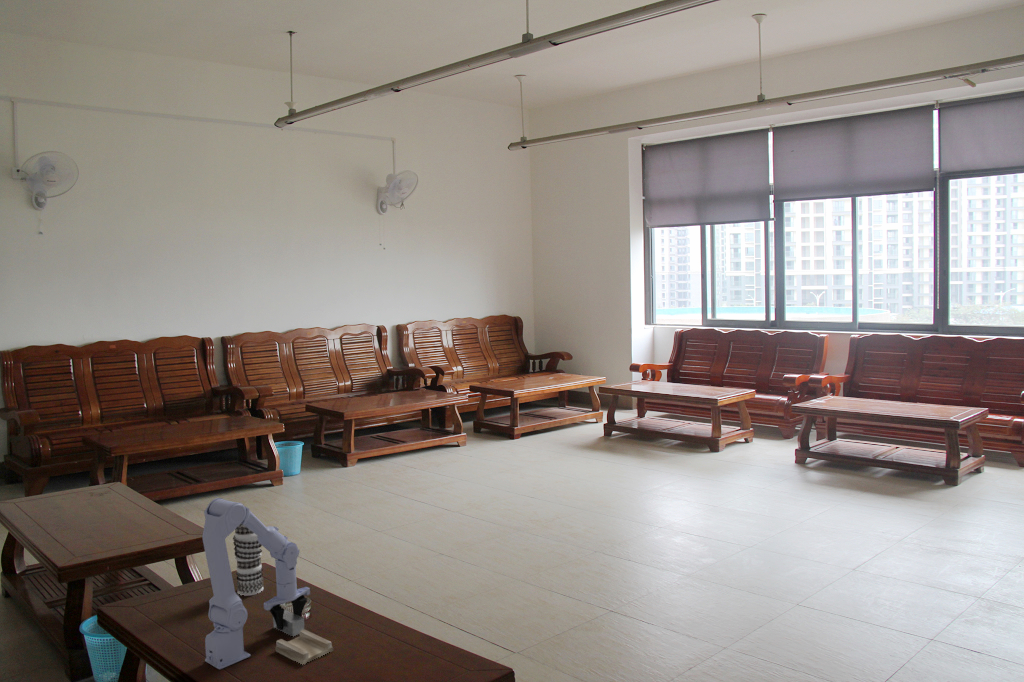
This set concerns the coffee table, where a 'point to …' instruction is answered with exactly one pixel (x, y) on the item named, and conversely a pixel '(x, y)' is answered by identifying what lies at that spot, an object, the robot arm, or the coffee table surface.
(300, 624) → the grey rectangular block
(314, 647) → the cradle
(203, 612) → the coffee table surface
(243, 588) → the decorative candle
